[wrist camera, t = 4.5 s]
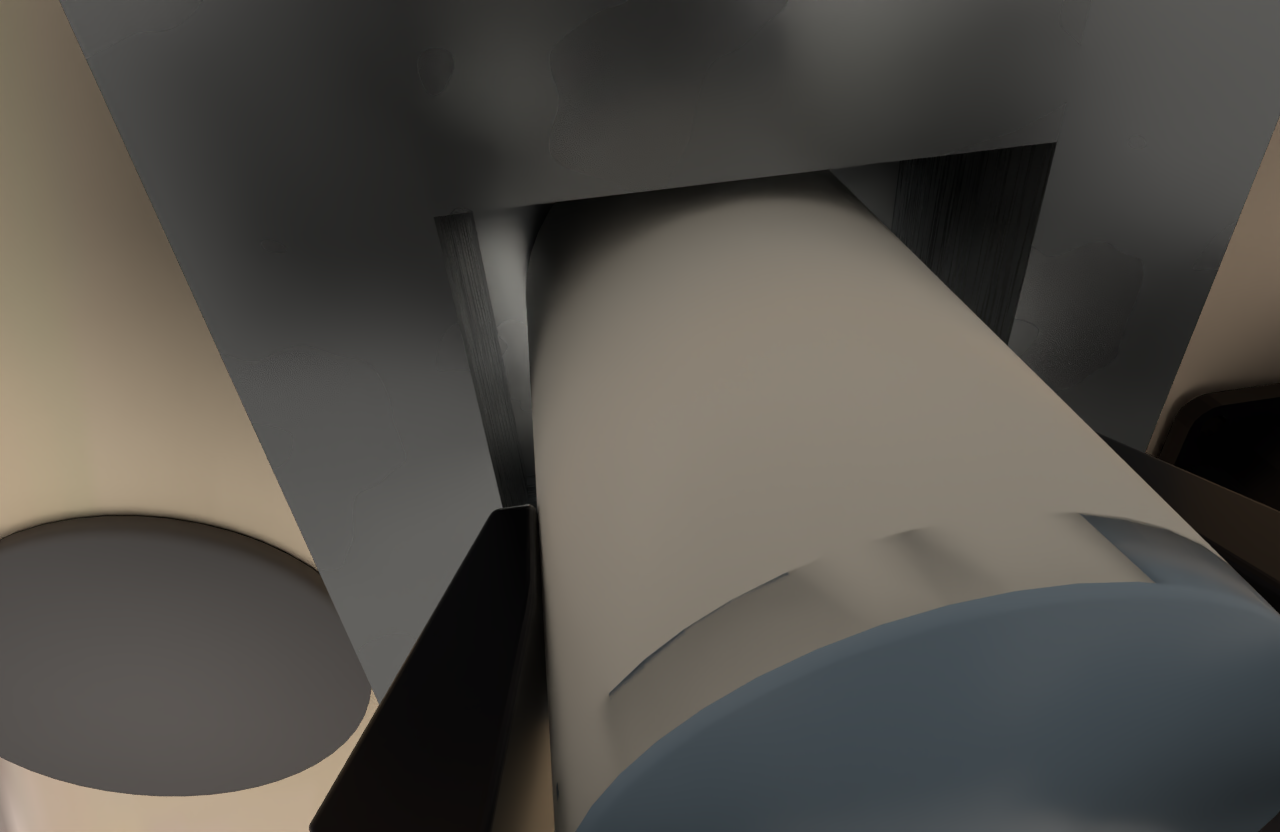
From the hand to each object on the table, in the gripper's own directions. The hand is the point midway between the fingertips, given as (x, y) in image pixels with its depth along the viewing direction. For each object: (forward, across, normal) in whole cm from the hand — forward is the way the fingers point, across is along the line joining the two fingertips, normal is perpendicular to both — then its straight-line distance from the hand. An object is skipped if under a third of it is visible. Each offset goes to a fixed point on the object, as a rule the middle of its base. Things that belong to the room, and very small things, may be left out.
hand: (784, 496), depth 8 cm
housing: (+6, 0, 0) cm, 6 cm away
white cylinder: (+4, 0, 0) cm, 4 cm away
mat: (+6, +11, +7) cm, 14 cm away
